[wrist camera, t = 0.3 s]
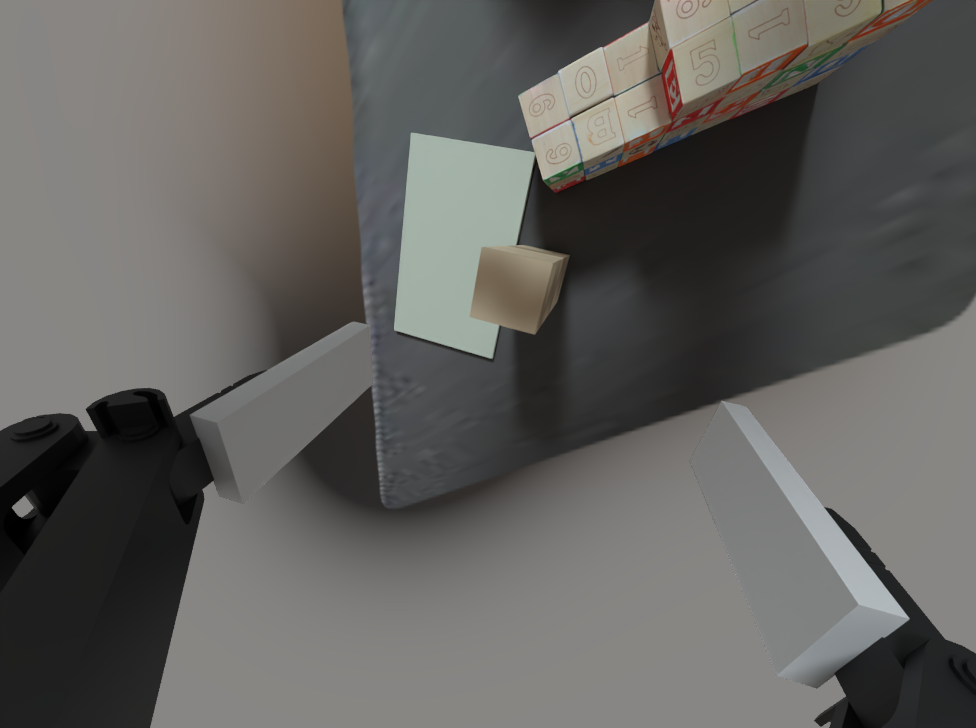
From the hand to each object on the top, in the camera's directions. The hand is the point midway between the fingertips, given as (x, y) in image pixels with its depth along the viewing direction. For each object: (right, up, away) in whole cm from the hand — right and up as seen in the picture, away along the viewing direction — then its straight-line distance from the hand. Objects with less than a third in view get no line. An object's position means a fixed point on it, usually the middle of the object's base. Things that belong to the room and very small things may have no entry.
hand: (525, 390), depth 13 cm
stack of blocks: (+14, +23, +17) cm, 32 cm away
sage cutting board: (-5, +14, +26) cm, 30 cm away
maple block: (+4, +11, +24) cm, 27 cm away
